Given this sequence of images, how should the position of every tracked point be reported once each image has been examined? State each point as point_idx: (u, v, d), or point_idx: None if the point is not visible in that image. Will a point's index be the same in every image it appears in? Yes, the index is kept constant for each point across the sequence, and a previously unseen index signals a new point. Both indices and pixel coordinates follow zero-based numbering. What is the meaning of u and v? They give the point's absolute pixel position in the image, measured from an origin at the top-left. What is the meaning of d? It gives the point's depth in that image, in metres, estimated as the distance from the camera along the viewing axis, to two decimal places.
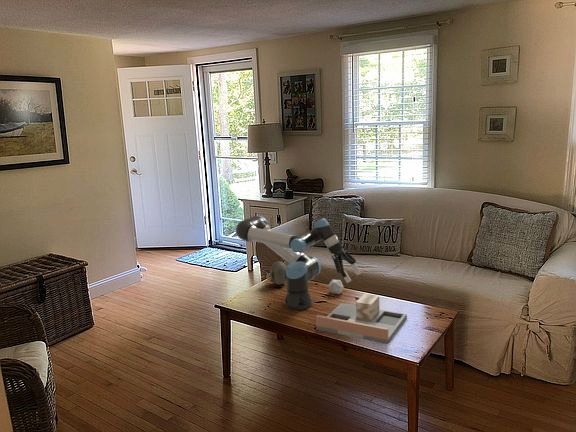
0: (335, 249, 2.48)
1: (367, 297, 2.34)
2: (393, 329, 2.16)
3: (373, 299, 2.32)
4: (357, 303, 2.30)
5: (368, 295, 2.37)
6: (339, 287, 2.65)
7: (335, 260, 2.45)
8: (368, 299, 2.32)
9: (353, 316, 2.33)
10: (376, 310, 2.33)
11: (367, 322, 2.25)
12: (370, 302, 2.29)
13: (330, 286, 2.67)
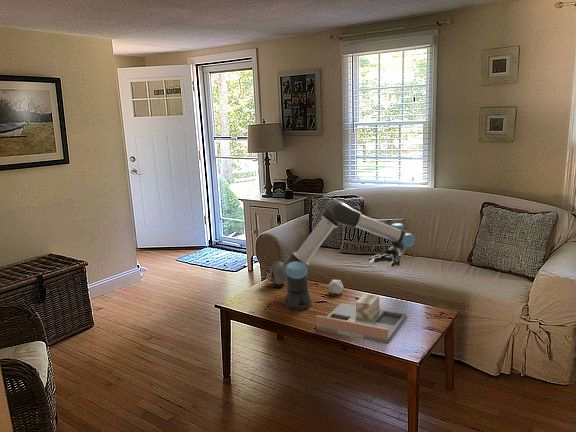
0: (396, 258, 2.60)
1: (367, 297, 2.34)
2: (393, 329, 2.16)
3: (373, 299, 2.32)
4: (357, 303, 2.30)
5: (368, 295, 2.37)
6: (339, 287, 2.65)
7: (399, 259, 2.53)
8: (368, 299, 2.32)
9: (353, 316, 2.33)
10: (376, 310, 2.33)
11: (367, 322, 2.25)
12: (370, 302, 2.29)
13: (330, 286, 2.67)
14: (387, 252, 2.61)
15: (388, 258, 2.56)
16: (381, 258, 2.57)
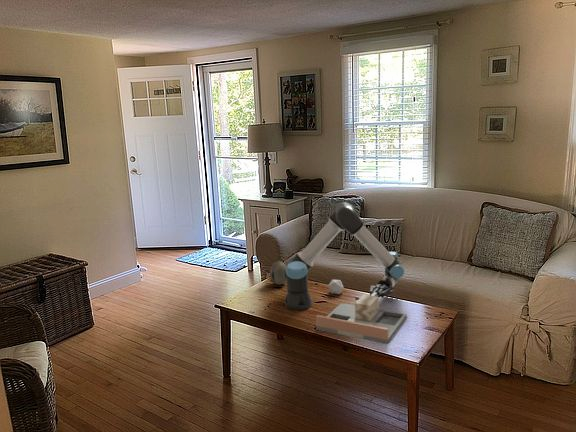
0: None
1: (366, 298, 2.33)
2: (393, 329, 2.16)
3: (372, 300, 2.31)
4: (356, 304, 2.29)
5: (367, 296, 2.36)
6: (339, 287, 2.65)
7: (389, 291, 2.46)
8: (367, 300, 2.31)
9: (353, 316, 2.33)
10: (375, 311, 2.32)
11: (367, 322, 2.25)
12: (369, 303, 2.27)
13: (330, 286, 2.67)
14: (381, 282, 2.54)
15: None
16: (378, 290, 2.49)
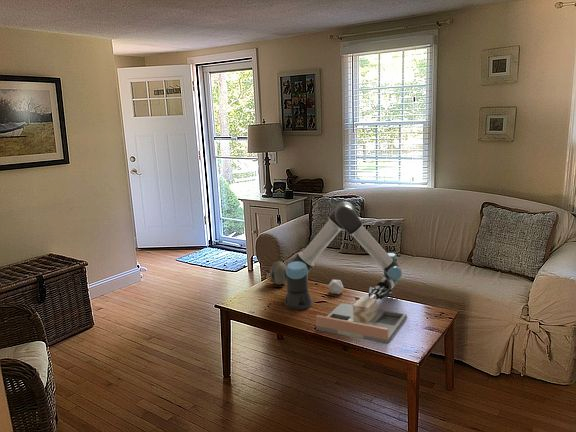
0: None
1: (365, 300, 2.31)
2: (393, 329, 2.16)
3: (370, 302, 2.29)
4: (354, 306, 2.26)
5: (365, 298, 2.34)
6: (339, 287, 2.65)
7: (388, 293, 2.44)
8: (365, 302, 2.28)
9: None
10: (373, 313, 2.30)
11: None
12: (367, 305, 2.25)
13: (330, 286, 2.67)
14: (379, 284, 2.52)
15: None
16: (377, 291, 2.46)
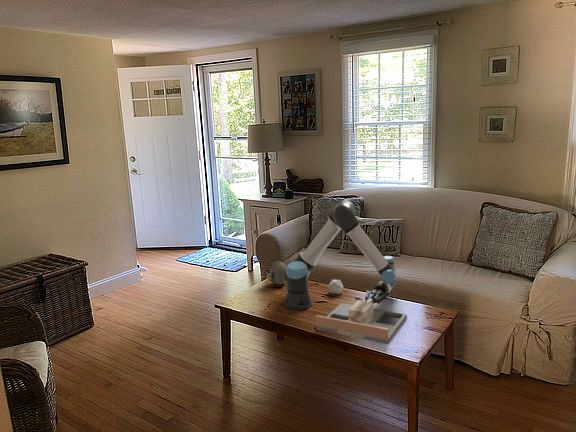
0: None
1: (361, 305, 2.26)
2: (393, 329, 2.16)
3: (367, 306, 2.24)
4: (350, 311, 2.21)
5: (362, 302, 2.29)
6: (339, 287, 2.65)
7: (385, 297, 2.39)
8: (361, 307, 2.24)
9: None
10: (370, 318, 2.25)
11: None
12: (364, 310, 2.20)
13: (330, 286, 2.67)
14: (376, 288, 2.47)
15: None
16: (374, 295, 2.41)
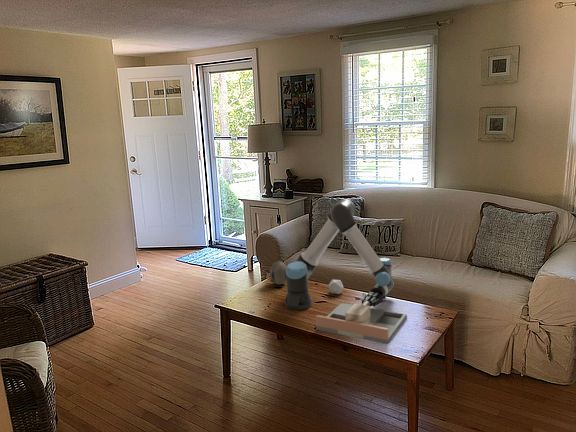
0: None
1: (358, 308, 2.22)
2: (393, 329, 2.16)
3: (363, 309, 2.20)
4: (347, 314, 2.18)
5: (358, 305, 2.26)
6: (339, 287, 2.65)
7: (381, 300, 2.36)
8: (358, 310, 2.20)
9: None
10: (366, 321, 2.22)
11: None
12: (360, 313, 2.17)
13: (330, 286, 2.67)
14: (373, 290, 2.44)
15: None
16: (370, 298, 2.38)
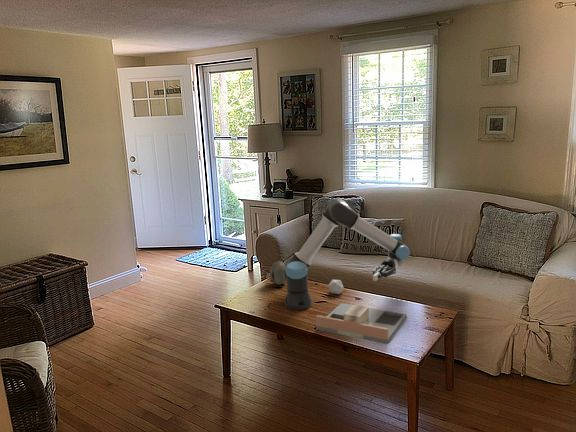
0: None
1: (356, 309, 2.21)
2: (393, 329, 2.16)
3: (362, 311, 2.19)
4: (345, 315, 2.17)
5: (357, 306, 2.24)
6: (339, 287, 2.65)
7: (392, 272, 2.47)
8: (357, 311, 2.19)
9: None
10: (365, 322, 2.20)
11: None
12: (359, 314, 2.15)
13: (330, 286, 2.67)
14: (384, 263, 2.56)
15: None
16: (381, 270, 2.50)
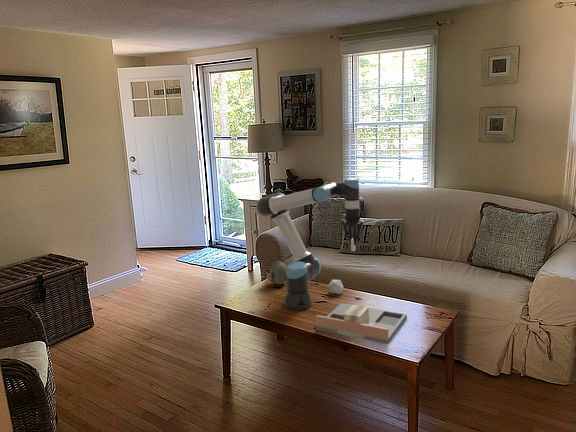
0: (359, 212, 2.42)
1: (356, 309, 2.21)
2: (393, 329, 2.16)
3: (362, 311, 2.19)
4: (345, 315, 2.17)
5: (357, 306, 2.24)
6: (339, 287, 2.65)
7: (361, 226, 2.42)
8: (357, 311, 2.19)
9: None
10: (365, 322, 2.20)
11: None
12: (359, 314, 2.15)
13: (330, 286, 2.67)
14: None
15: None
16: (351, 227, 2.45)
